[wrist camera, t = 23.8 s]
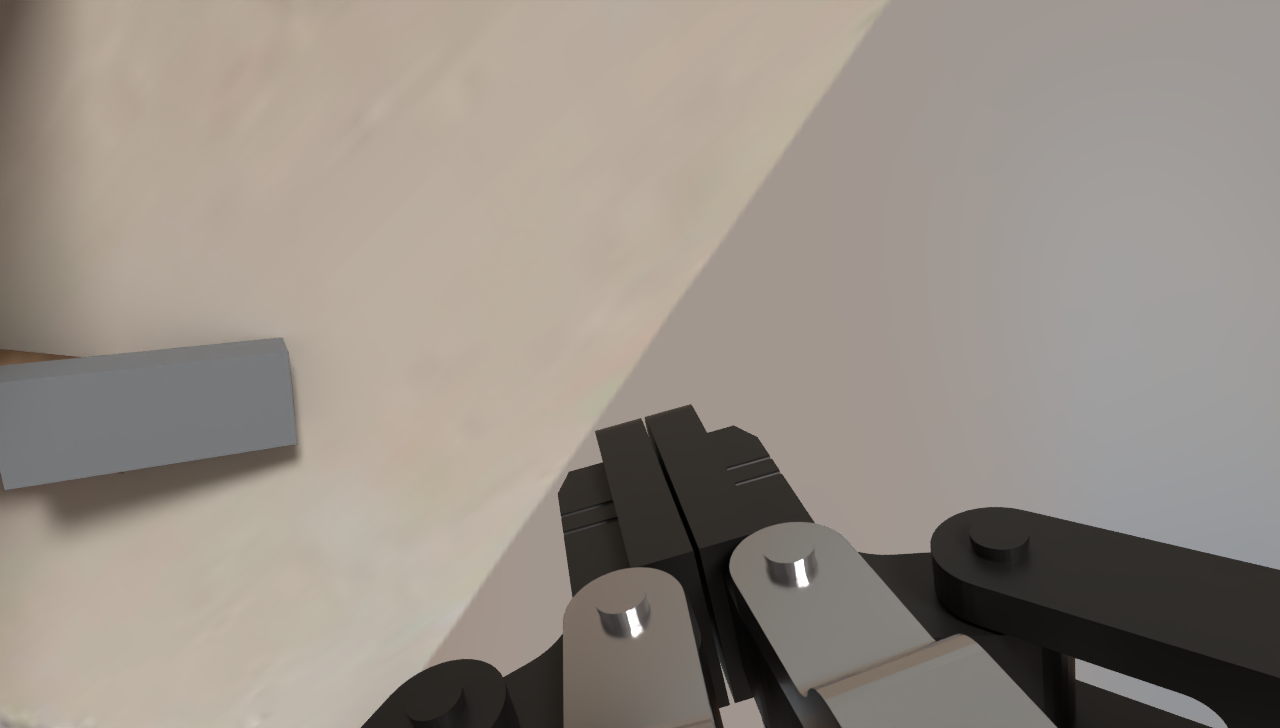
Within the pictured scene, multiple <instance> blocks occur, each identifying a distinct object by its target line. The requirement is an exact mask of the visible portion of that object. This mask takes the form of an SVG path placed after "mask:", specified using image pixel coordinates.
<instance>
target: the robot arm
mask: <svg viewBox="0 0 1280 728" xmlns="http://www.w3.org/2000/svg"><path fill="white" fill-rule="evenodd" d="M645 423H646V427H647V432H648V434H647V432H646V429H645V426H644V424H643V421H642V419H641V418H640V419H637V420H633V421H629V422H626V423H622V424H619V425H615V426H611V427H608V428H604V429H601V430H597V431H595V433H596V437H597V440H598V445H599V448H600V452H601V456H602V460H603V463H599V464H595V465H592V466H589V467H585V468H581V469H578V470H574V471H570V472H569V473H568V475H567V477H566V479H565V481H564V483H563V485H562V487H561V488H560V491H559V492H558V498H559V505H560V512H561V517H562V527H563V532H564V541H565V547H566V555H567V562H568V569H569V576H570V583H571V590H572V597H573V598H572V600H571V601H570V603H569V604H568V606H567V608H566V610H565V613H564V618H563V634H562V635H561V637H560V638H559V639H558V640H557V641H556V643H554V644H553V645H552V646H551V647H550V648H549V649H548V650H547V651H546V652H545V653H543V654H542V655H541V656H539V657H538V658H536V659H534V660H533V661H531V662H530V663H528V664H526V665H525V666H523V667H521V668H519V669H517V670H516V671H514V672H512V673H510V674H509V675H507V676H505V677H502V675H501V673H500V672H499V671H498V670H497V669H496V668H495V667H493V666H492V665H490V664H488V663H486V662H483V661H479V660H473V659H461V660H453V661H448V662H444V663H441V664H438V665H435V666H433V667H430V668H428V669H426V670H424V671H422V672H420V673H418V674H417V675H415V676H413V677H412V678H410V679H409V680H408V681H406V682H405V683H404V684H402V685H401V686H400V687H399V688H398V689H397V690H396V691H395V692H394V693H393V694H392V695H391V696H390V697H389V698H388V699H387V700H386V701H385V702H384V703H383V704H382V705H381V706H380V707H379V708H378V710H377V711H376V712H375V713H374V714H373V715H372V716H371V717H370V718H369V719H368V720H367V721H366V723H365V724H364V725H363V726H362V727H361V728H724V727H723V724H722V719H721V715H720V711H719V708H721V707H724V706H728V705H730V703H729V699H728V696H727V691H726V687H725V683H724V678H723V674H722V670H721V666H722V669H723V671H724V674H725V677H726V680H727V683H728V685H729V688H730V691H731V693H732V696H733V699H734V702H735V703H737V702H740V701H743V700H747V699H750V698H753V697H754V699H755V701H756V704H757V706H758V709H759V711H760V714H761V716H762V721H763V725H764V728H1212V727H1209V726H1206V725H1203V724H1200V723H1198V722H1195V721H1192V720H1189V719H1186V718H1183V717H1181V716H1178V715H1175V714H1172V713H1169V712H1166V711H1164V710H1161V709H1158V708H1155V707H1152V706H1149V705H1147V704H1144V703H1141V702H1138V701H1135V700H1132V699H1129V698H1127V697H1124V696H1121V695H1118V694H1115V693H1113V692H1110V691H1107V690H1104V689H1101V688H1098V687H1096V686H1093V685H1090V684H1087V683H1084V682H1081V681H1078V680H1076V679H1075V658H1077V659H1080V660H1083V661H1086V662H1089V663H1092V664H1095V665H1098V666H1101V667H1104V668H1107V669H1110V670H1113V671H1116V672H1119V673H1122V674H1125V675H1127V676H1131V677H1134V678H1137V679H1140V680H1142V681H1146V682H1148V683H1151V684H1154V685H1157V686H1160V687H1163V688H1166V689H1169V690H1172V691H1175V692H1178V693H1181V694H1184V695H1186V696H1189V697H1192V698H1194V699H1196V700H1198V701H1200V702H1201V703H1203V704H1205V705H1206V706H1208V707H1209V708H1210V709H1212V710H1213V711H1214V712H1216V714H1218V715H1219V716H1220V717H1221V718H1222V720H1223V721H1224V722H1225V724H1226V725H1227V727H1228V728H1280V570H1277V569H1273V568H1269V567H1264V566H1260V565H1256V564H1252V563H1247V562H1243V561H1239V560H1234V559H1230V558H1226V557H1221V556H1217V555H1213V554H1209V553H1204V552H1200V551H1196V550H1191V549H1187V548H1183V547H1178V546H1175V545H1170V544H1166V543H1161V542H1157V541H1153V540H1149V539H1145V538H1140V537H1136V536H1132V535H1127V534H1123V533H1119V532H1114V531H1110V530H1106V529H1102V528H1097V527H1093V526H1089V525H1084V524H1080V523H1076V522H1071V521H1067V520H1063V519H1059V518H1054V517H1050V516H1046V515H1041V514H1037V513H1032V512H1028V511H1024V510H1019V509H1014V508H1002V507H988V508H978V509H973V510H968V511H965V512H962V513H959V514H957V515H954V516H952V517H950V518H948V519H947V520H946V521H944V522H943V523H941V525H939V526H938V527H937V529H936V530H935V532H934V533H933V535H932V538H931V553H914V554H898V555H875V554H866V553H860V552H857V551H856V550H855V548H854V547H853V546H852V545H851V544H850V543H849V542H848V540H847V539H846V538H844V537H843V536H842V535H841V534H840V533H838V532H837V531H835V530H833V529H831V528H829V527H826V526H823V525H819V524H815V523H814V521H813V520H812V518H811V517H810V515H809V514H808V512H807V511H806V509H805V508H804V506H803V505H802V503H801V502H800V500H799V499H798V497H797V496H796V494H795V493H794V491H793V490H792V488H791V487H790V485H789V484H788V482H787V481H786V479H785V478H784V476H783V475H782V474H780V471H779V469H778V467H777V466H776V464H775V463H774V461H773V460H772V459H770V456H769V454H768V452H767V451H766V450H765V448H764V446H763V445H762V443H761V442H760V440H759V439H758V437H756V436H754V435H752V434H750V433H747V432H746V431H744V430H742V429H740V428H738V427H736V426H730V427H727V428H723V429H720V430H716V431H713V432H709V433H707V432H706V430H705V428H704V426H703V425H702V423H701V421H700V419H699V417H698V415H697V414H696V412H695V410H694V408H693V406H692V405H691V404H690V405H687V406H683V407H679V408H676V409H672V410H668V411H665V412H661V413H658V414H655V415H651V416H647V417H645ZM648 436H649V437H648ZM720 663H721V665H720Z"/></svg>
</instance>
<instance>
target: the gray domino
mask: <svg viewBox="0 0 1280 728" xmlns="http://www.w3.org/2000/svg"><path fill="white" fill-rule="evenodd" d="M295 444H297V437H296V427H295V416H294V406H293V395H292V385H291V374H290V364H289V353H288V350H287V347H286V345H285V343H284V341H283V338H273V339H263V340H253V341H243V342H233V343H223V344H213V345H203V346H193V347H183V348H173V349H163V350H153V351H143V352H133V353H123V354H112V355H102V356H92V357H82V358H72V359H62V360H52V361H42V362H32V363H22V364H12V365H2V366H0V473H1V477H2V482H3V486H4V490H10V489H16V488H22V487H29V486H35V485H41V484H48V483H54V482H60V481H67V480H73V479H79V478H86V477H92V476H98V475H105V474H111V473H117V472H124V471H130V470H136V469H143V468H149V467H155V466H162V465H168V464H174V463H181V462H187V461H193V460H200V459H206V458H212V457H219V456H225V455H231V454H238V453H244V452H250V451H257V450H263V449H269V448H276V447H282V446H288V445H295Z"/></svg>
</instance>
